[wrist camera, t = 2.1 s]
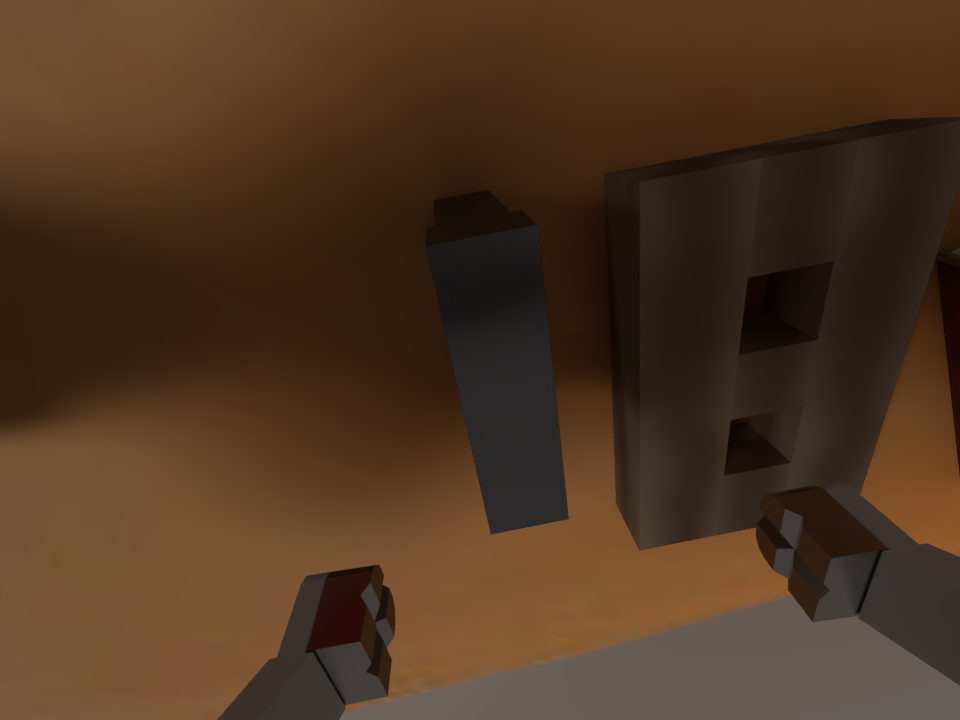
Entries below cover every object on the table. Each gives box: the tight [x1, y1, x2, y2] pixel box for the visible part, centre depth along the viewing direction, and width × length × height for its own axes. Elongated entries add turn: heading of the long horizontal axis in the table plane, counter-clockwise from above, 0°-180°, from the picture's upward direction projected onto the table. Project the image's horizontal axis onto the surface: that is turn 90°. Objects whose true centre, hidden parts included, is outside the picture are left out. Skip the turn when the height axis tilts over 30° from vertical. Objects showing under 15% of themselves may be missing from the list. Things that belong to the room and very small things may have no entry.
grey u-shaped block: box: [426, 190, 569, 534], centre depth 19 cm, size 3×11×10 cm, turn 10°
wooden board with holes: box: [605, 117, 960, 550], centre depth 24 cm, size 14×22×4 cm, turn 10°
